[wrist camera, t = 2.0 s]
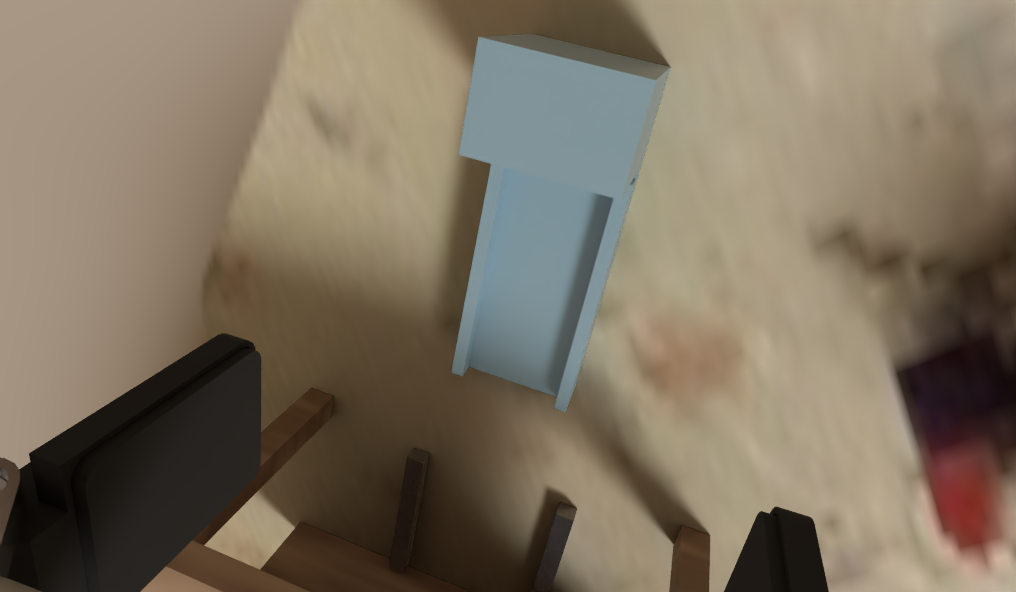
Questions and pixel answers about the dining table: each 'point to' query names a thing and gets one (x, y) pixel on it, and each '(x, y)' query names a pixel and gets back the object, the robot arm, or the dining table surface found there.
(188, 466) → the robot arm
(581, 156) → the light blue channel block
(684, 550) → the shelf
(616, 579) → the dining table surface
